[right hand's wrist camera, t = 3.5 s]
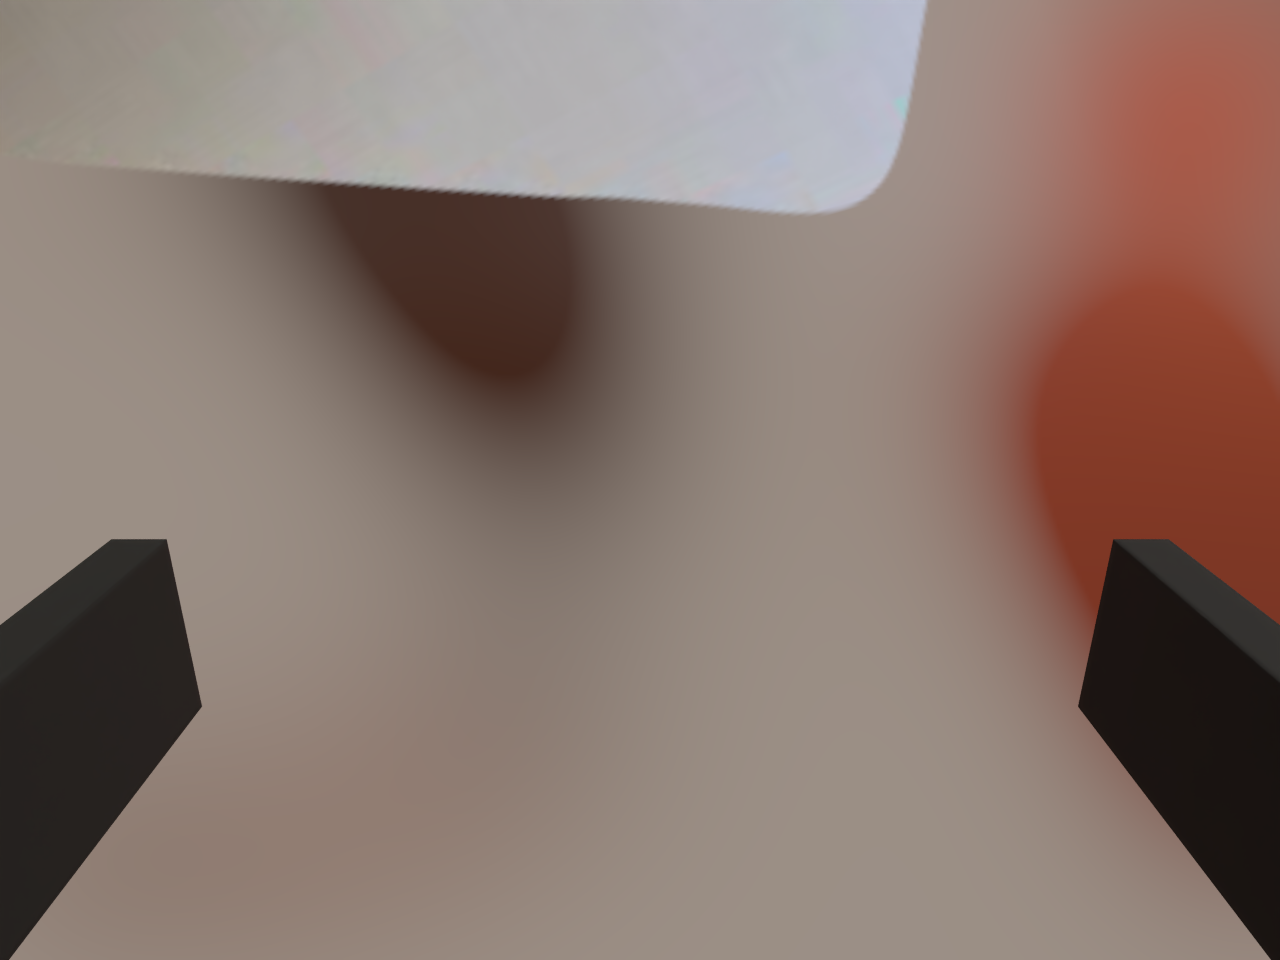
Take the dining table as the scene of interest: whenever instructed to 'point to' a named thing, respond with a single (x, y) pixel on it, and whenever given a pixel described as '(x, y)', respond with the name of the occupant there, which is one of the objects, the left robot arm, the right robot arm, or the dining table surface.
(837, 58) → the dining table surface
